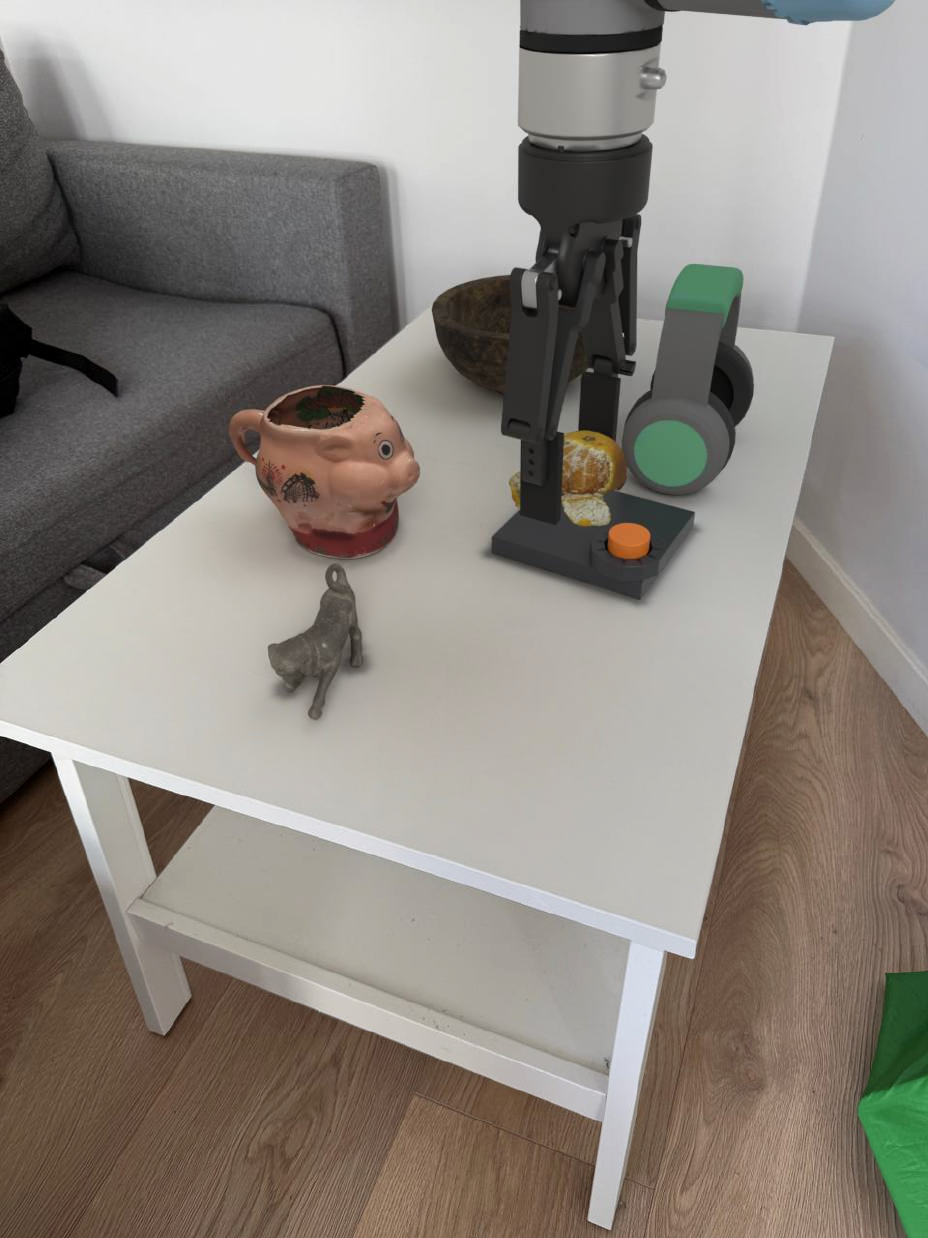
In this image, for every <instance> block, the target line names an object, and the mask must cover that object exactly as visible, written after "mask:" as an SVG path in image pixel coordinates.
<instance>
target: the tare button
mask: <svg viewBox="0 0 928 1238" xmlns="http://www.w3.org/2000/svg"><path fill="white" fill-rule="evenodd" d="M649 543H650V533H649V531H648V530H647V529H646V528H645V527H643V526H641V525H638V524H634V523H622V524H618V525H615V526H613V527H612V528H611V529H610V530H609V534H608V550H609V552H610V553H611V554H612V555H613V556H616V557H620V558H623V559H638V558H641V557H643V556H645V555H646V554H647V553H648V551H649Z"/></svg>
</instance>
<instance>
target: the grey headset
mask: <svg viewBox="0 0 928 1238" xmlns="http://www.w3.org/2000/svg"><path fill="white" fill-rule="evenodd" d="M743 286H744V273H743V271H742V270H741V269H740V268H739V267H734V266H723V265H714V264H713V265H712V264H704V263H703V264H702V263H689V264H686V265H685V266H684V267H683V268H682V270H681V271H680V272H679V274H678V275H677V277H676V278H675V280H674V282H673V284H672V287H671V289H670V291H669V292H670V293H669V295H668V298H667V301H666V304H665V308H664V320H663V324H662V329H661V333H660V340H659V344H658V350H657V356H656V363H655V369H654V371H653V373H652V376H651V381H650V385H649V387H650V388H649V390H648V391H646V392H645V393H643V395H641V396H640V397H639V398H638V399H637V400H636V402H635V403H634V405H633V406H632V407H631V409H630V411H629V412H628V414H627V417H626V419H625V421H624V427H623V432H622V436H621V437H622V438H621V449H622V451H623V452H624V455H625V458H626V463H627V470H629V472H630V473H631V474H632V476H633V477H634V478H635V479H636V480H637V481H638V482H639V483H641V485H644V486H645V487H646V488H648V489H651V490H653V491H655V492H657V493H660V494H665V495H670V496H671V495H672V496H679V495H680V496H682V495H688V494H693V493H696V492H698V491H700V490H702V489H705V488H706V487H707V486H708V485H710V484H712V483H713V481H715V479H717V477H718V476H719V475H720V473H721V472H723V470H724V469H725V468H726V466H727V465H728V463H729V461H730V459H731V457H732V455H733V452H734V448H735V445H736V436H737V435H736V433H737V432H736V427H737V426H738V425H740V423H741V422H742V421H743V419H745V417H746V415H747V414H748V411H749V410H750V408H751V405H752V402H753V398H754V392H755V391H754V389H755V385H754V384H755V383H754V380H755V379H754V372H753V367H752V365H751V362H750V360H749V357H747V355H746V353H745V352H744V351H743V350H742V349H741V348H740V347H739V346H738V345H736V339H737V332H738V326H739V318H740V312H741V311H740V310H741V302H742V301H741V300H742V291H743Z"/></svg>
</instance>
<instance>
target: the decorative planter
mask: <svg viewBox="0 0 928 1238" xmlns="http://www.w3.org/2000/svg"><path fill="white" fill-rule="evenodd" d="M228 427H229V428H228V431H227V433H228V436H229V438H230V440H231V443H232V445H233V447H234V449H235V451H236V452H237V455H238V456H239V457H240V458H241V459H242V460H243V461H244V462H246V463H250V464H252V465H253V466H254V471H255V476H256V480H257V482H258V485H259V486H260V488H261V490H262V491H263V492H264V494H265V495H266V497H267V498H268V499H269V500H270V501H271V502H272V503H273V505H274V506H275V508H276V509H277V510H278V512H279V514H280V515H281V517H282V518H283V520H284V521H285V523H286V526H288V528H289V530H290V531H291V532H292V534H293V536H294V538H295V541H296V543H297V544H298V545H299V546H301V547H302V548H303V549H305V550H307V551H309V552H311V553H313V554H316V555H318V556H322V557H329V558H335V559H341V560H342V559H344V560H352V559H358V558H359V559H360V558H364V557H367V556H369V555H372V554H376V553H377V552H378V551H380V550H382V549H383V548H384V547H386V546H387V545H389V544H390V543H391V542H392V540H394V537H395V536H396V534H397V532H398V529H399V521H400V513H399V511H400V510H399V504H398V503H399V502H398V497H400V496H402V495H403V494H405V493H406V492H408V491H409V490H411V489H412V488H413V487H414V486H415V485H416V484H417V483H418V481H419V478H420V475H421V466H420V464H419V462H418V461H417V460H416V459H415V452H414V449H413V446H412V445H411V443H410V442H409V440H408V439H407V438H406V437H405V435H404V433H403V431H402V428H401V426H400V424H399V423H398V420H397V419H396V418H395V417H394V416H393V415H392V414H391V413H390V411H389V410H388V409H387V408H386V406H385V405H384V404H383V402H382V401H381V400H379V398H377V397H375V396H372V395H370V394H366V393H364V392H361V391H358V390H355V389H353V388H349V387H345V386H340V385H331V384H330V385H329V384H317V385H311V386H306V387H302V388H299V389H295V390H293V391H290V392H287V393H286V394H283V395H282V396H279V397H278V398H277V399H275V400H274V401H273V402H271V404H270V405H268V407H267V408H266V409H265V410H262V409H255V408H250V409H242V410H240V411H238V412H237V413H235V414H233V416H232V417H231V419H230V423H229V426H228ZM250 430H251V431H255V432H256V433H257V434H259V436H260V445H259V448H258V452H257V455H256V457H255V456H254V455H253V454H252V453H251V451H250V449H249V448H248V446H247V444H246V432H247V431H250Z"/></svg>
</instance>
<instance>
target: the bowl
mask: <svg viewBox="0 0 928 1238" xmlns="http://www.w3.org/2000/svg"><path fill="white" fill-rule="evenodd" d="M509 279H510V274H501V275H493V276H488V277H482V278H478V279H472V280H469V281H466V282H462V283H460V284H457V285H455V286H453V287H450V288H448V289H446V290H445V291H443V292H442V293H441V294H439V295H438V296H437V297H436V299H435V300H434V301H433V302H432V306H431V314H432V320H433V323H434V324H433V325H434V330H435V334H436V335H435V336H436V339H437V343H438V345H439V347H440V349H441V351H442V352H443V354H444V356H445V358H446V359H447V360H448V361H449V363H450V364H451V365H452V367H454V369H455V370H456V371H457V372H458V374H460V375H461V376H463V377H464V378H466V379H467V380H468V381H471V382H472V383H474V384H475V385H476V386H477V385H478V386H479V387H482V388H485V389H488V390H492V391H494V392H498V393H502V394H504V388H505V377H506V366H507V355H508V344H509V333H510V321H511V299H510V286H509ZM558 310H559V311H565V312H573V311H574V310H575V309H569V308H564V307H558ZM588 369H589V368H588V365H587V359H586V354H585V348H584V343H583V337H582V332H581V329H580V330H579V332H578V336H577V341H576V345H575V350H574V355H573V359H572V364H571V369H570V373H569V378H568V382H567V384H569V383H571V382H572V381H574V380H575V379H577V378H579V377H581V375H582V374H583V373H584V372H585V371H587V370H588Z"/></svg>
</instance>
